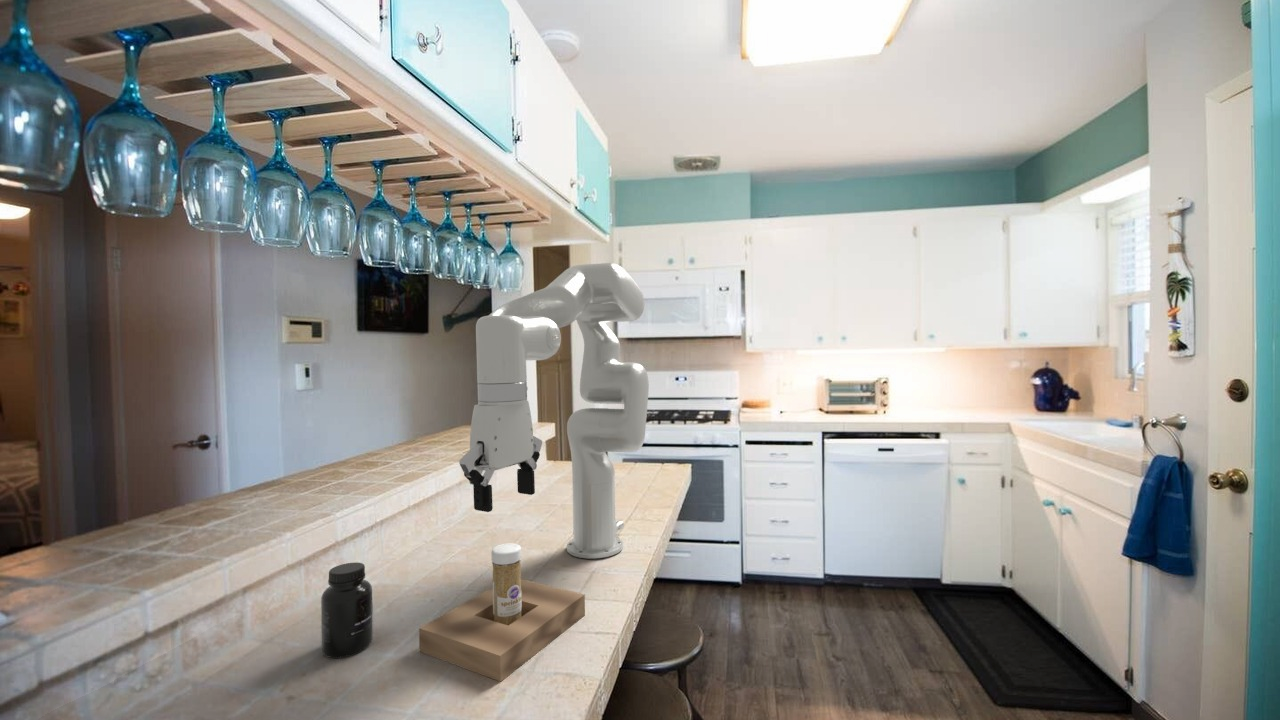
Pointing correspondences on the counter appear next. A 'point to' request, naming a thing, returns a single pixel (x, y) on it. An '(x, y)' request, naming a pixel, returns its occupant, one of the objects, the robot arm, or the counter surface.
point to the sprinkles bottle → (506, 583)
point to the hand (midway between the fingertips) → (505, 501)
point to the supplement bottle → (346, 611)
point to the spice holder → (501, 630)
